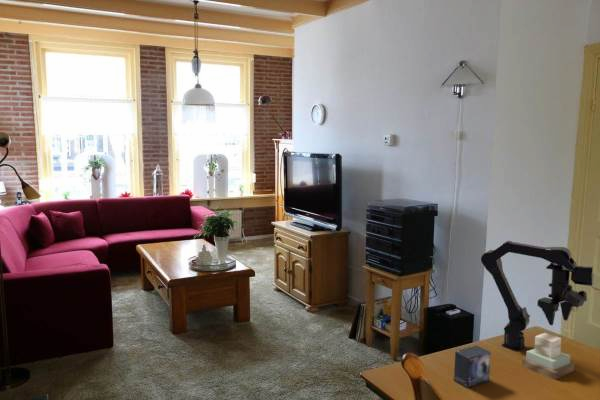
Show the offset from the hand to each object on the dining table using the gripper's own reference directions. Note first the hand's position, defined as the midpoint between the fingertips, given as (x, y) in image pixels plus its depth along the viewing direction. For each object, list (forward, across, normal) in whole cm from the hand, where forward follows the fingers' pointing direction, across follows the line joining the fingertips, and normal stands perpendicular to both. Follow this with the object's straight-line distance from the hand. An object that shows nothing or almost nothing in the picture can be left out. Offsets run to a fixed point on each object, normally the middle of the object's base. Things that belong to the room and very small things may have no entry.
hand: (558, 322), depth 178 cm
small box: (+13, -43, +4) cm, 45 cm away
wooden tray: (+14, -12, -4) cm, 19 cm away
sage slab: (+11, -12, -4) cm, 17 cm away
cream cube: (+8, -13, -4) cm, 15 cm away
